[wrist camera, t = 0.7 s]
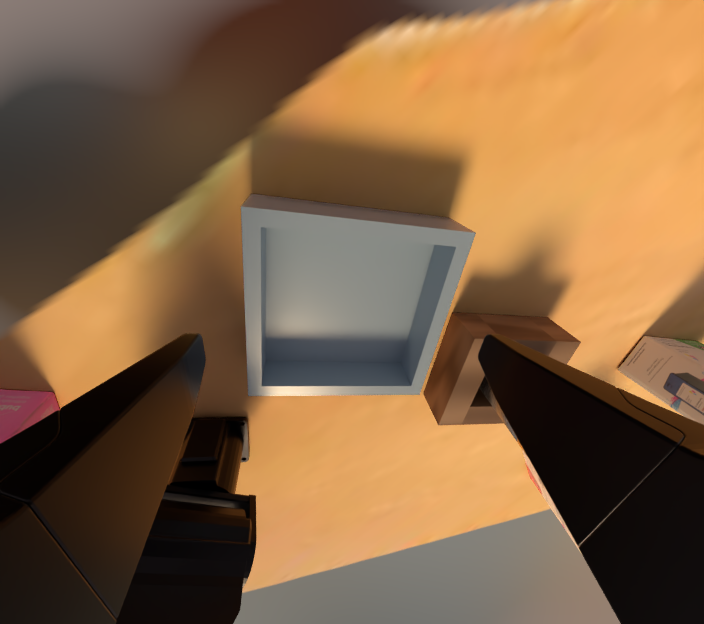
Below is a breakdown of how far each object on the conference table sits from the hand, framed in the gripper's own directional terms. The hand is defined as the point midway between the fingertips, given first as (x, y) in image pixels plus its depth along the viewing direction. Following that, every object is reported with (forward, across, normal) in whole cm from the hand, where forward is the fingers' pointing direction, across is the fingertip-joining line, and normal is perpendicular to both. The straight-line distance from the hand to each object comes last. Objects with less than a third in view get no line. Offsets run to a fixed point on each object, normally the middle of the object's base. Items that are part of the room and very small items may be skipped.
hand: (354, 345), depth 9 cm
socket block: (+14, -17, +12) cm, 25 cm away
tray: (+14, -2, +5) cm, 15 cm away
